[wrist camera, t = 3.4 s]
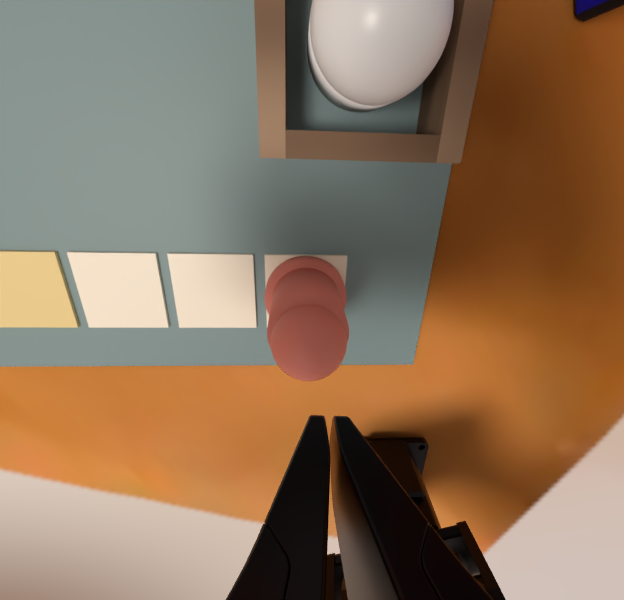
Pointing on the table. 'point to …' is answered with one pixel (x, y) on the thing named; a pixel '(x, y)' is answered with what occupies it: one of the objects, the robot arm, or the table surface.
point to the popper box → (375, 146)
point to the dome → (375, 48)
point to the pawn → (307, 317)
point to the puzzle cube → (595, 7)
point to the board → (188, 191)
